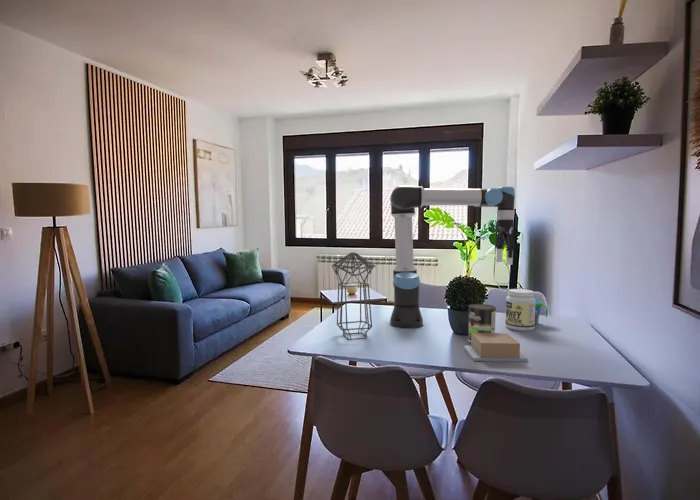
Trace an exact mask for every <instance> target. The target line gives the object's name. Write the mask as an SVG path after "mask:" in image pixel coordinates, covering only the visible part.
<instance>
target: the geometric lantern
mask: <svg viewBox="0 0 700 500" xmlns="http://www.w3.org/2000/svg"><path fill="white" fill-rule="evenodd" d="M357 259H358V260H359V263H358V262H357ZM350 264H351V265H350ZM349 265H350V266H349ZM363 265H365V266H363ZM331 267H332V270H333V272H334V274H335V275H336V279H337V304H336V305H337V309H336V311H337V312H336V326H337V327H338V328H339V330H340V331H342V335H343V336H344V338H346V340H347V341H349V340H350V341H351V340H352V341H353V340H362V339H367V338H368V336H367V335H368V334H367V333H368V332H369V331H370V330H371V329H372V328H373V322H372V321H373V320H372V309H371V308H372V307H371V298H370V297H371V295H370V283H368V281H369V275H371V274H372V271H373V269H374V268H376V267H377V265H375V264H374V263H372V262H371V261H370V260H368V259H366V258H364V257H363V256H361V255H360V254H358V253H357V252H349V253H348V254H347V255H345V256H344V257H342V258H341V259H340V260H337V261H336V262H335V263H333V264H331ZM349 269H350V270H351V271H349ZM362 269H364V270H363V271H361V270H362ZM340 270H341V271H343V272H345V275H344V277H343V280H342V279H341V277H340V274H339V272H340ZM357 270H358V273H356V274H355V272H356V271H357ZM365 272H366V276H365V278H363V276H362V274H363V273H365ZM347 274H348V275H350V276H349V278H348V280H347V281H346V282H344V281H345V279H346V277H347V276H348V275H347ZM357 276H360V278H361V280H362V282H361V281H360V280H359V278H358V277H357ZM352 277H355V278H356V280H357V281H358V282H349V281H350V279H351V278H352ZM339 281H340V282H339ZM347 284H350V285H347ZM351 284H359V285H351ZM353 287H355V288H356V287H359V321H358V320H355V321H348V308H347V305H348V303H347V302H348V301H347V288H353ZM362 288H363V290H362ZM362 291H363V303H364V316H365V318H364V320H362ZM343 294H344V295H343ZM367 295H368V297H367ZM343 299H344V305H345V308H344V309H345V321H344V322H343ZM339 303H340V304H339ZM339 305H340V309H339ZM368 309H369V310H368ZM339 310H340V311H339ZM339 313H340V314H339ZM369 318H370V319H369ZM354 323H355V324H356V323H359V327H356V328H355V327H354V328H353V327H350V328H348V324H354ZM362 323H364V324H363V325H362V327H361V324H362ZM343 325H345V328H344V326H343ZM366 325H367V327H365V326H366ZM352 330H353V331H356V330H357V331H358V332H350V331H352ZM362 331H363V332H362ZM360 334H361V335H363V336H364V337H355V338H352V335H360ZM346 335H347V336H346Z"/></svg>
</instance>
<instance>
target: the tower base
mask: <svg viewBox="0 0 700 500" xmlns="http://www.w3.org/2000/svg"><path fill="white" fill-rule="evenodd" d="M463 349H464V351H466V353H467V354H468V355H469V357H470V358H471V360H472V361H473V362H475V361H476V362H525V363H526V362H527V363H528V357H526V356H525V355H524V354H522V352H521V351H520V350H521V343H520V342H519V341H518V340H516V339H515V338H514V337H512V336H511V335H510V334H508V332H505V333H503V332H497V333H496V332H495V333H471V343H470V345H464V346H463Z"/></svg>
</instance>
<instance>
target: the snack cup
mask: <svg viewBox="0 0 700 500" xmlns="http://www.w3.org/2000/svg"><path fill="white" fill-rule="evenodd" d="M535 301H536V302H535V325H537V324H538V323H539V318H540V314H541V307H545V311H546V312H545V318H547V317H548V315H549V313H548V312H549V310H548V307H547V305H546V304H545V303H543V302H542V301H540V300H537V299H535ZM536 323H537V324H536Z"/></svg>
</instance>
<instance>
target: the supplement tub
mask: <svg viewBox="0 0 700 500" xmlns="http://www.w3.org/2000/svg"><path fill="white" fill-rule="evenodd" d="M535 300H536V298H535V297H534V290H530V289H525V288H524V289H522V288H509V289H508V292H507V295H506V297H505V316H504V317H505V320H504V325H505V327H506V328H507V329H510V330H512V331H519V332H529V331H533V330H534V329H535V327H536V324H535V302H536V301H537V300H536V301H535Z"/></svg>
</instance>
